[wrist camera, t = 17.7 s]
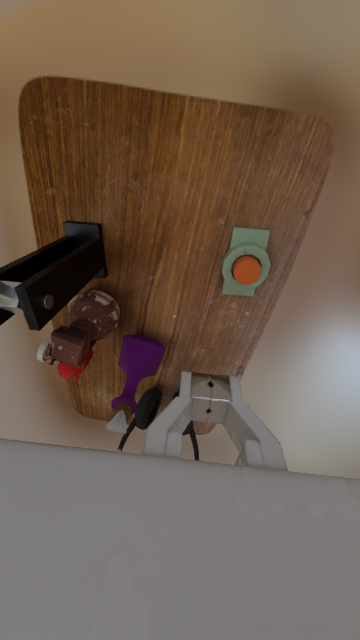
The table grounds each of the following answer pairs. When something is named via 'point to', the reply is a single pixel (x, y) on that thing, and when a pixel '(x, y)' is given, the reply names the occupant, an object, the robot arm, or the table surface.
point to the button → (246, 270)
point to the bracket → (56, 272)
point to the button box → (245, 245)
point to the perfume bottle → (134, 376)
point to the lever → (9, 297)
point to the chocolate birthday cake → (80, 332)
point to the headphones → (147, 413)
